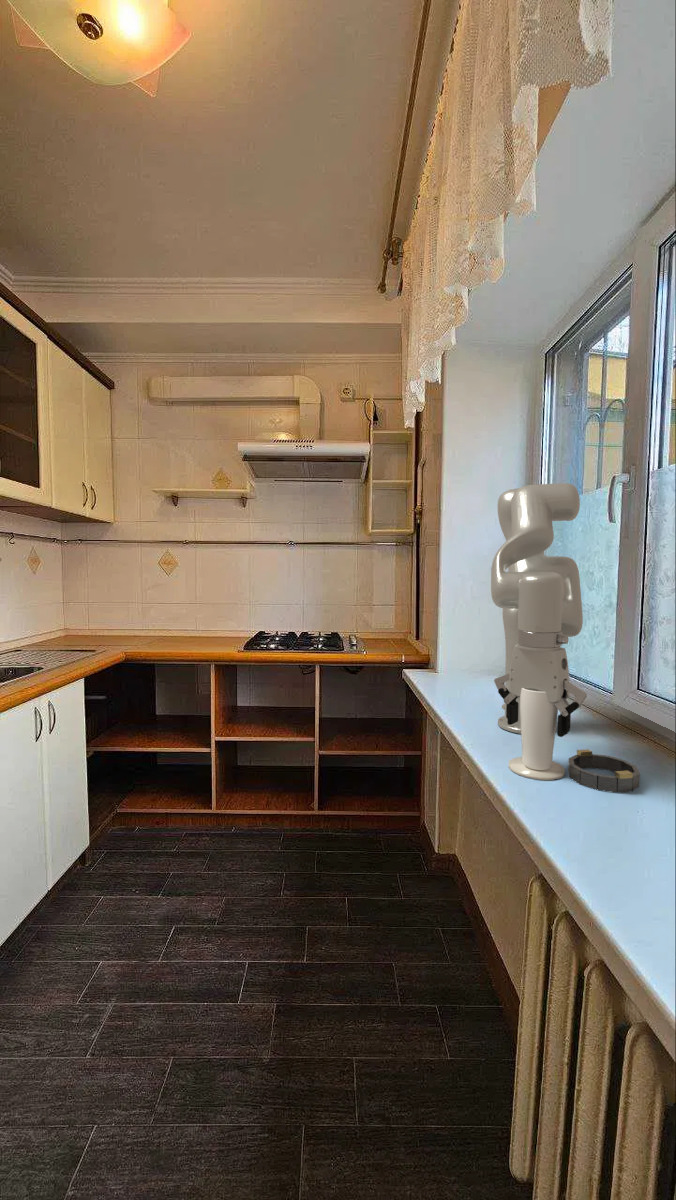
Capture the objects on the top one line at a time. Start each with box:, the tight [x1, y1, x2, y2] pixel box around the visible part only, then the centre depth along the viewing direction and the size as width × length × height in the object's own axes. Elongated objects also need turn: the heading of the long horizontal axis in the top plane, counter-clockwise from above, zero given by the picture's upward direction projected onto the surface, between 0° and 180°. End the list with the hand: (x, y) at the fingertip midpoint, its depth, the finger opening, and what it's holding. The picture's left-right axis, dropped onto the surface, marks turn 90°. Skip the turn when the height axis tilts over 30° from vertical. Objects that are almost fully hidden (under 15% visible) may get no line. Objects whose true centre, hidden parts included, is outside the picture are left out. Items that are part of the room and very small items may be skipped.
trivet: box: [508, 756, 566, 781], centre depth 96 cm, size 10×10×1 cm
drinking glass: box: [520, 688, 559, 770], centre depth 96 cm, size 7×7×15 cm
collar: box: [567, 748, 641, 793], centre depth 92 cm, size 12×11×3 cm
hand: (536, 728), depth 96 cm, fingers open, 9 cm apart
